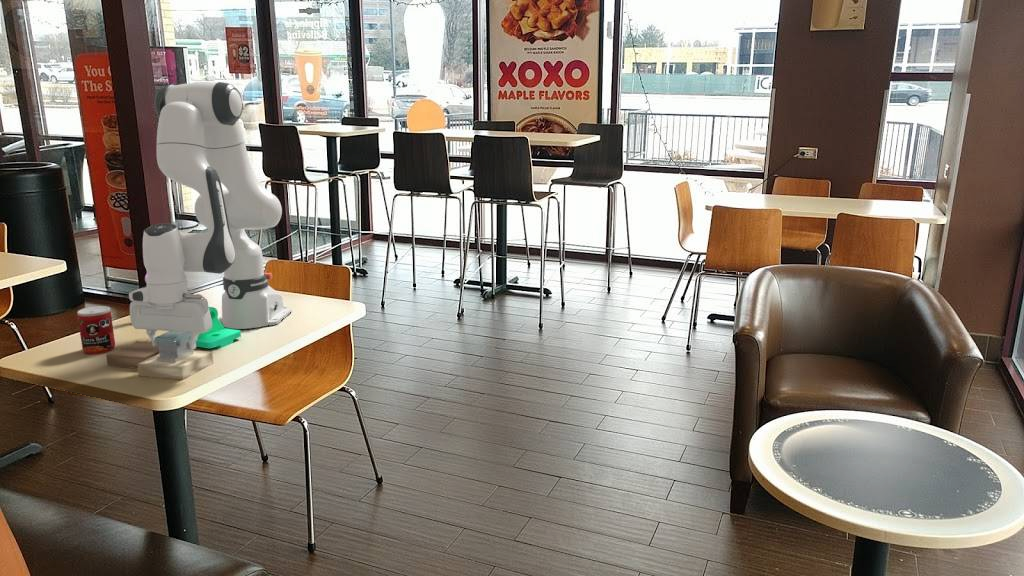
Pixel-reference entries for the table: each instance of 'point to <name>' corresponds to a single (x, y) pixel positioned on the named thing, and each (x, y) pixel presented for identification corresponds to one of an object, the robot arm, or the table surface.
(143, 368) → the stand
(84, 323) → the canned food
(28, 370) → the table surface
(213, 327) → the camera mount
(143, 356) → the stand
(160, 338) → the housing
